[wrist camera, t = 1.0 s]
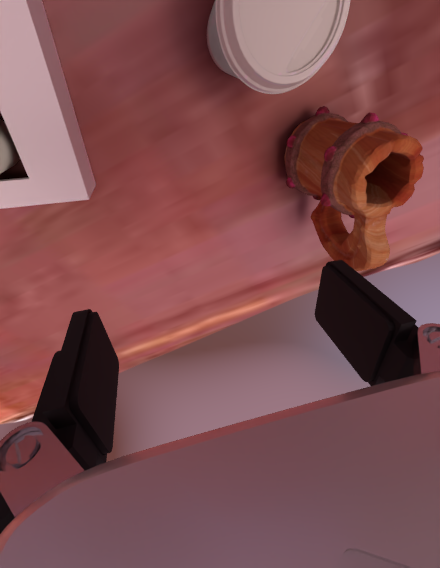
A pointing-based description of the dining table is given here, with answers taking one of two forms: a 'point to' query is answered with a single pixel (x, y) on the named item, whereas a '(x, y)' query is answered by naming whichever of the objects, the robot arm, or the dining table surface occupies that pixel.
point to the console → (39, 112)
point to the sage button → (7, 149)
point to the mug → (353, 181)
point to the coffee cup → (274, 39)
